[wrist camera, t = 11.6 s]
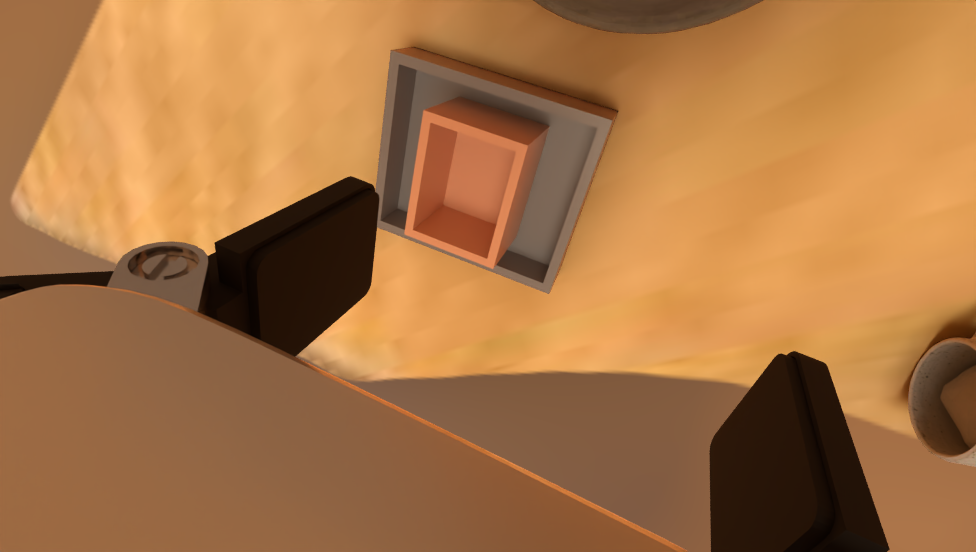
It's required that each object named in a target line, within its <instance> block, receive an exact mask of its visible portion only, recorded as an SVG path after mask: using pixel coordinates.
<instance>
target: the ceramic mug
mask: <svg viewBox="0 0 976 552" xmlns="http://www.w3.org/2000/svg"><path fill="white" fill-rule="evenodd" d="M908 410H909V414H910V419H911V423H912V425H913V428H914V431H915V433H916V435H917V437H918V439H919V440H920V441H921V443H922V444H923V445H924V446H925V447H926V448H927V450H928V451H929V452H931V453H932V454H934V455H935V456H937V457H939V458H941V459H943V460H946V461H948V462H952V463H958V464H964V465H969V466H974V467H976V332H975V334H974V336H973V337H972V338H971V339H969V338H961V337H956V338H949V339H945V340H943V341H941V342H939V343H937V344H935V345H934V346H932V347H931V348H930V349H929V350H928V351H927V352H926V353H925V354H924V356H923V357H922V358H921V359H920V361H919V363H918V364H917V366H916V368H915V370H914V372H913V376H912V378H911V381H910V385H909V395H908Z"/></svg>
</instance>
